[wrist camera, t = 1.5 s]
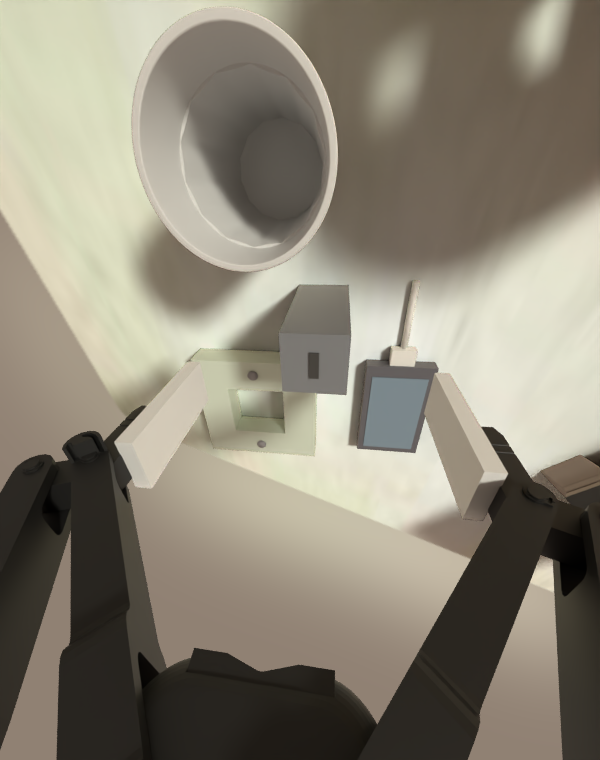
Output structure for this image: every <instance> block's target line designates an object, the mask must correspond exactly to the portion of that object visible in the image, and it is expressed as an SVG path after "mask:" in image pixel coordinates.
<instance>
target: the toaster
mask: <svg viewBox="0 0 600 760" xmlns="http://www.w3.org/2000/svg"><path fill="white" fill-rule="evenodd" d="M540 472H541V473H542V474H543V475H544V476H545V477H546V478H547V479H548V480H549V481H550V482H551V483H552V484H553V486H554V487H555V488H556V489H557V490H558V491H559V492H560V493H561V494H562V495H564V496H565V498H566V499H567V501H568V502H569V503H570V504H571V505H574V506H577V507H580V508H583V509H586V508H587V507H588V505H590V504H591V503H593V502H600V467H599V466H598V465H596V464H594V463H593V462H591V461H590V460H588V459H587V458H585V457H583V456H582V455H579V456H576V457H574V458H571V459H569V460H566V461H564V462H561V463H559V464H556V465H554V466H551V467H549V468H546V469H544V470H541V471H540Z"/></svg>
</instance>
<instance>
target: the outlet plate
mask: <svg viewBox="0 0 600 760" xmlns="http://www.w3.org/2000/svg"><path fill="white" fill-rule="evenodd" d="M190 361H191V362H200V365H201V369H202V373H203V378H204V382H205V387H206V391H207V395H208V402H207V404H206V405H205V407H204V408H203V411H204V414H205V418H206V422H207V426H208V430H209V434H210V438H211V441H212V445H213V448H215V449H228V450H241V451H253V452H266V453H279V454H292V455H304V456H315V446H316V406H317V393H302V392H284V391H282V379H281V364H280V352H277V351H252V350H226V349H201V348H200V350H199V351H198V352H197V353H196V354H195V355H194V356H193V358H192V359H191V360H190ZM237 390H254V391H273V392H283V406H284V419H278V418H263V417H247V416H242V415H241V409H240V403H239V397H238V391H237Z"/></svg>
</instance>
